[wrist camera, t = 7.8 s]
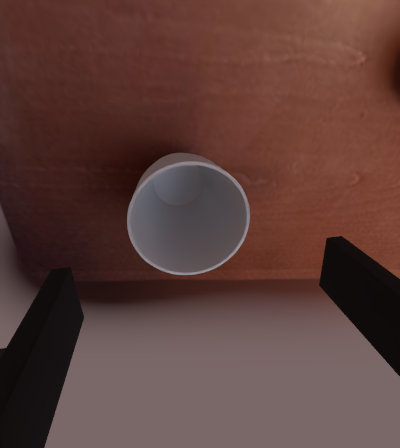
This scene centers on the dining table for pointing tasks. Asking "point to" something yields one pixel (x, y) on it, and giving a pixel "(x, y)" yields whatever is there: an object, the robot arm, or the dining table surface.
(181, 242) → the cup
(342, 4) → the dining table surface
